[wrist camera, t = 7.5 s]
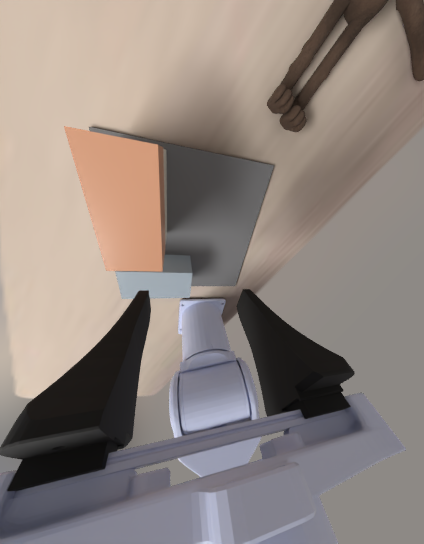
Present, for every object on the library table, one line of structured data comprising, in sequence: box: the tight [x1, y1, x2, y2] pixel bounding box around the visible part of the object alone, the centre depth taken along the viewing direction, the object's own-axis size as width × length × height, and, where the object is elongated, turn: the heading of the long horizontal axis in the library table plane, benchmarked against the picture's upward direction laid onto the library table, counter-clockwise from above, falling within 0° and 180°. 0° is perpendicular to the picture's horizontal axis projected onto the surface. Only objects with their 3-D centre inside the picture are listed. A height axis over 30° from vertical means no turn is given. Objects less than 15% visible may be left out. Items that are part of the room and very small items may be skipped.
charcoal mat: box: [89, 127, 274, 286], centre depth 20 cm, size 17×17×1 cm
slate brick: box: [115, 254, 192, 299], centre depth 20 cm, size 8×4×4 cm, turn 81°
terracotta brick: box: [64, 126, 165, 272], centre depth 11 cm, size 8×4×4 cm, turn 171°
